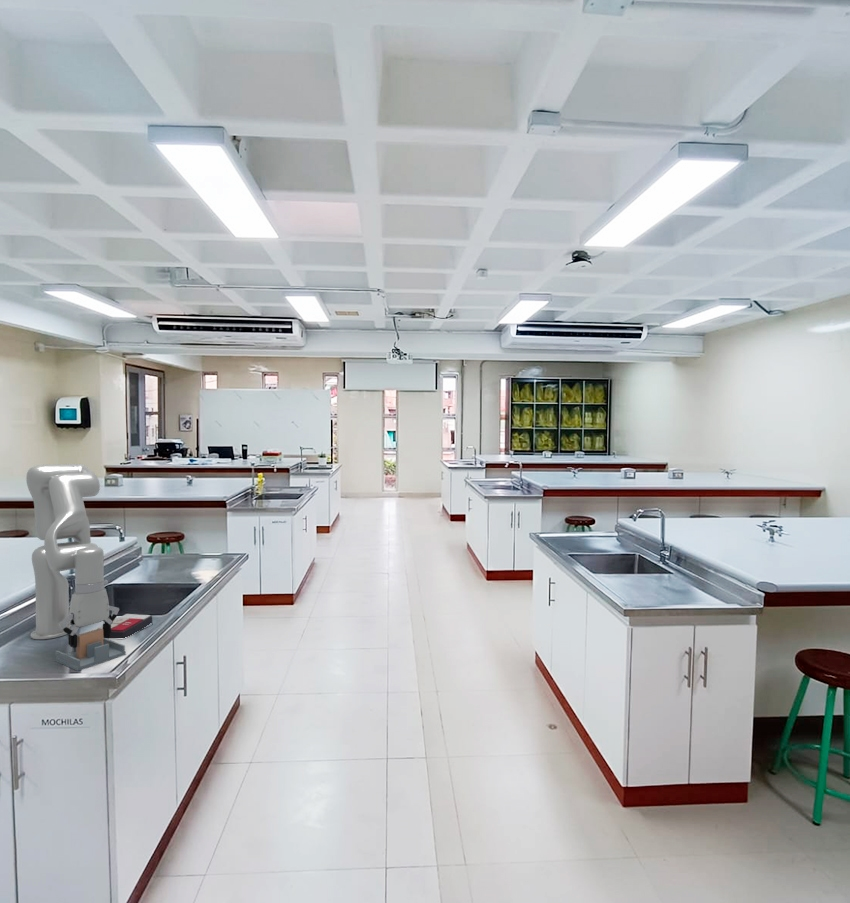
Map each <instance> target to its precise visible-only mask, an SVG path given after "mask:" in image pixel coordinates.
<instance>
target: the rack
mask: <svg viewBox="0 0 850 903" xmlns="http://www.w3.org/2000/svg"><path fill="white" fill-rule="evenodd" d="M71 648H72V649H71V650H72V651H71V652H69V653H65V652H62V651H59V650H55V656H54V662H56V663H58V664H60V665H63V666H65V667H68V668H70V669H72V670H74V671H78V672H79V671H81V670H84V669H88V668H91V667H93V666H94V667H95V665H99V664H103V663H105V662H107V661H111V660H114V659H116V658H119V657H122V656H125V655H127V654H126V646H125V645H124V644H122V643H119V642H116V641H113V640H112V639H109V638H103V645H102V641H98V642H95V643H92V644H88V645H87V657H85V658H82V659H78V658H76V648H73V647H71Z"/></svg>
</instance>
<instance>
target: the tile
mask: <svg viewBox="0 0 850 903" xmlns="http://www.w3.org/2000/svg"><path fill="white" fill-rule="evenodd" d="M98 628H99V627H98ZM98 628H97V629H94V630H93V629H92V630H89V631H87V632H83V633H82V632H81V633H79V634H76V635H77V647H76V658H78V659H82V658H85V657H87V645H88V644H92V643H95V642H98V641H102V645H103V629H101V628H99V629H98Z"/></svg>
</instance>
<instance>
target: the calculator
mask: <svg viewBox="0 0 850 903" xmlns="http://www.w3.org/2000/svg"><path fill="white" fill-rule="evenodd" d="M150 623H152V624H153V616H152V615H150V614H138V613H137V614H136V613H133V614H132V613H125V614H124V615H122V616H120V617H116V618H115V619H114V621H113V623H112V624H111V633H110V637H109V638H125V637H127V638H129V637H130V635H131V636H133V635H135V634H136V633H135V632H137V631H139V630H140V631H142V630H143V629H142V628H144V627H146V626H147V625H149V624H150ZM99 628H101V629H103V625H101V626H99V627H97V629H99ZM141 629H142V630H141ZM140 631H139V632H140ZM134 633H135V634H134ZM137 633H138V632H137ZM132 634H133V635H132ZM128 636H129V637H128ZM103 638H105V639H109V638H107V637H104V636H103ZM125 639H126V638H125Z"/></svg>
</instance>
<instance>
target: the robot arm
mask: <svg viewBox="0 0 850 903" xmlns="http://www.w3.org/2000/svg"><path fill="white" fill-rule="evenodd" d="M25 480H26V486H27V488H28V492H29V493H30V495H31V498H32V500H33V506H34V507H33V508H34V524H35V525H34V526H35V534H36V536H37V538H38V540H40V541H44V542H43V543H44V544H43V545H42V546H41V545H40V546H39V547H37V548H35V549H34V550H33V551H32V553H31V561H32V562H31V563H32V567H33V573H34V583H35V585H34V586H35V589H34V590H35V592H34V593H35V630H33V631H32V632H31V633H30V638H31V639H33V640H48V639H49V640H51V639H55V638H59V637H64V636H66V635H67V636H68V641H67V642H68V646H69V647H70V648H72V647H73V648H76V647H77V635H78V634H76V633H77V632H78V630H79V629H80V628H83V627H86V626H90V625H94V624H96V623H100V622H103V624H102V626H103V636H104V637H107V638H106V639H109V637H110V633H111V624H112V623H113V621H114V620H115V619H117V618H118V616H117V615H118V613H119V611H120V607H117V606H112V605H110V603H109V597H108V593H107V589H106V588H105V586H106V585H109V581H108V580H107V579H105V578H104V577H105V576H104V575H105V572H104V569H105V567H104V566H105V565H104V557H105V556H104V554H105V553H104V549H103V548H102V547H100V546H98V545H97V544H96V543H92V541H91V526H90V521H89V517H88V515H87V511H86V507H85V503H84V498H93V497H95V496H97V495H98V494H99V493H100V489H101V488H100V486H101V485H100V480H99V478H98V476H97V474H95V472H94V471H93V470H91V469H90V468H89V467H87V465H85V464H83V463H64V464H63V463H62V464H61V463H53V464H50V463H49V464H39V465H34V466H31V467H30V468H29V469H28V470H27V473H26V479H25ZM64 539H65V540H66V539H73V541H67V542H58V540H64ZM70 570H74V573H75V574H74V575H75V576H74V578H75V584H74V585H75V586H74V588H75V591H74V593H72V594H71V598H70V594H69V593H70V592H69V589H70V588H69V581H68V578H67V577H66V576H65V575H63V574H62V573H61V572H64V571H65V572H66V571H70ZM69 601H70V602H69ZM110 611H111V614H110Z"/></svg>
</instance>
